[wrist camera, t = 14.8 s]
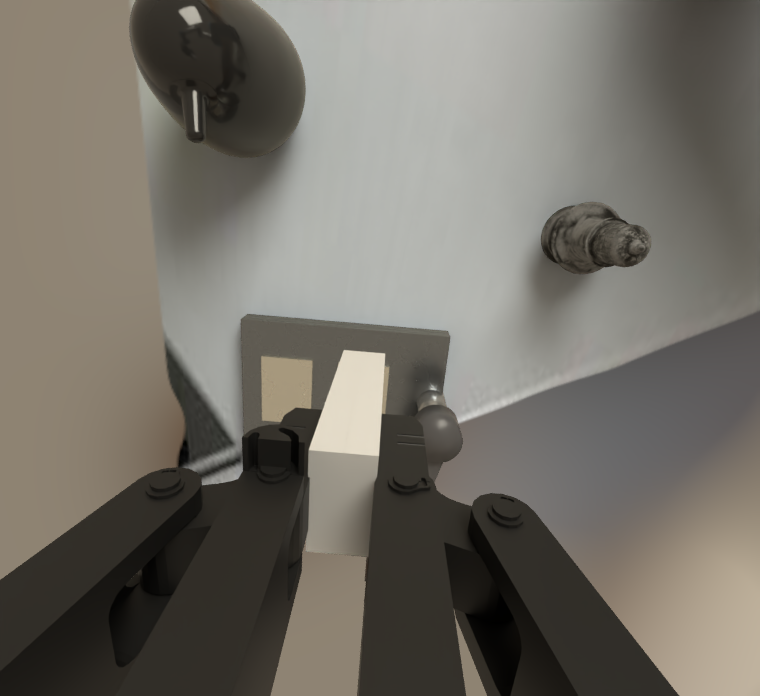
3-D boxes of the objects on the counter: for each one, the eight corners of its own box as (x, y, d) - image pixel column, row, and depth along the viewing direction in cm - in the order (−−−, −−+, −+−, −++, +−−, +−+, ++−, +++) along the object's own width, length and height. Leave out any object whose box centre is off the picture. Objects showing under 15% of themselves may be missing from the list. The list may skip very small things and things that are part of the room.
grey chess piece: (528, 259, 40) (582, 281, 28) (552, 194, 38) (620, 190, 26) (587, 275, 40) (665, 303, 28) (614, 211, 38) (708, 214, 27)
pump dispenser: (210, 171, 38) (98, 149, 24) (182, 35, 35) (31, -87, 20) (322, 158, 37) (277, 128, 23) (304, 18, 34) (238, -120, 20)
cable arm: (420, 387, 40) (424, 414, 34) (460, 399, 40) (470, 429, 35) (360, 540, 46) (356, 583, 40) (395, 550, 46) (396, 594, 41)
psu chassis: (451, 331, 42) (461, 351, 36) (434, 453, 46) (440, 488, 41) (247, 314, 42) (224, 331, 36) (250, 437, 47) (229, 470, 41)
